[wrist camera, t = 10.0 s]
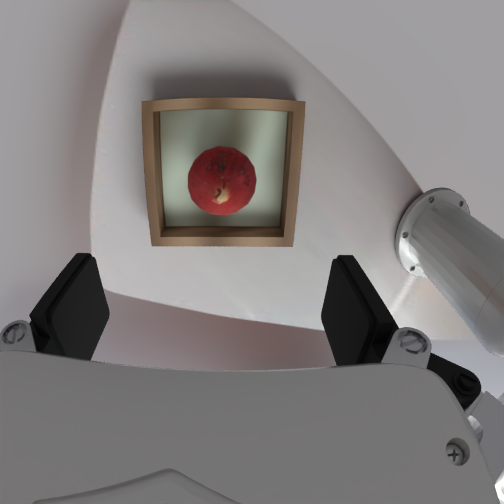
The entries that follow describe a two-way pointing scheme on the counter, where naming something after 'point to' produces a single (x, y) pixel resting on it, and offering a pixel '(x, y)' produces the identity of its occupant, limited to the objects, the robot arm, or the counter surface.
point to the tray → (228, 135)
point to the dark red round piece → (221, 180)
